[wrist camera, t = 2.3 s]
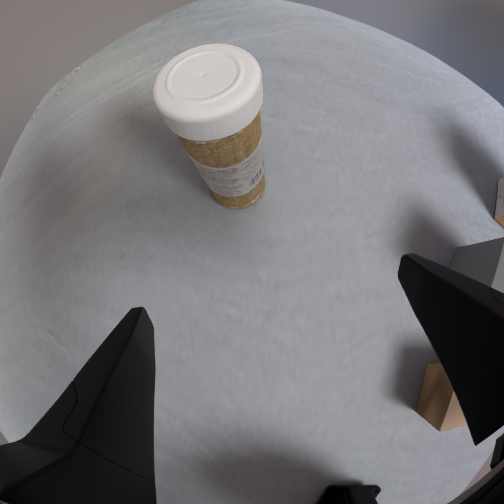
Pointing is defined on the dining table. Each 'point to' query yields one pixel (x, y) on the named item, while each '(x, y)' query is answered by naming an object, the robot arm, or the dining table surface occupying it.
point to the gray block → (482, 262)
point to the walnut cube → (439, 400)
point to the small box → (500, 203)
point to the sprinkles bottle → (217, 118)
